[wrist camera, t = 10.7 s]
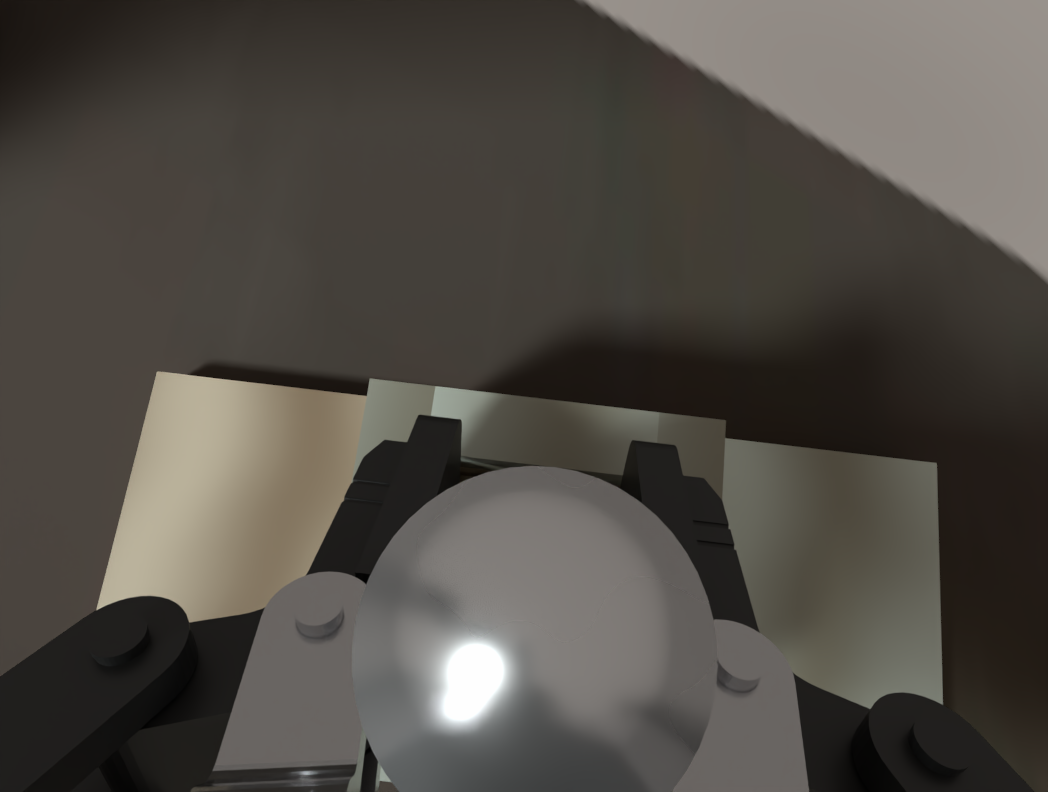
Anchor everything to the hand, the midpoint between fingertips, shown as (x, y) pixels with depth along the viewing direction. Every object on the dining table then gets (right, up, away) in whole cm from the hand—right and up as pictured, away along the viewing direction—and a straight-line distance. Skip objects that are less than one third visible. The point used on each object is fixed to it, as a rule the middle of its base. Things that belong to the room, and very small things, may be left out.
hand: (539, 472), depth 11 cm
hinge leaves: (0, -3, +6) cm, 7 cm away
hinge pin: (0, -3, +4) cm, 5 cm away
